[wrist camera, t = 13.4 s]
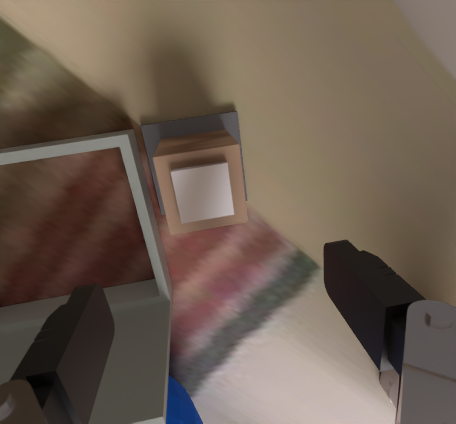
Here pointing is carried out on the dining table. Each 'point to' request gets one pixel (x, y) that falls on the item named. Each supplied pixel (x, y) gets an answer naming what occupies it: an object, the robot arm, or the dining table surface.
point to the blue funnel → (180, 405)
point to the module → (201, 181)
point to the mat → (188, 127)
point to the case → (117, 299)
